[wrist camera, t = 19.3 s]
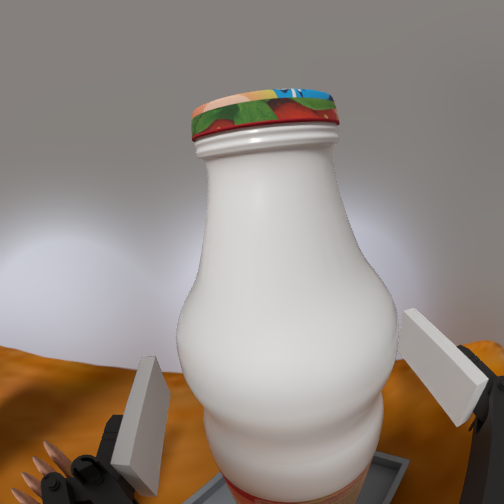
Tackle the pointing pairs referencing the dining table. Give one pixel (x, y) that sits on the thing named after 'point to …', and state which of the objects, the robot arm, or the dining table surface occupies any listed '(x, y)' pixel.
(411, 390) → the dining table surface
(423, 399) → the dining table surface
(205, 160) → the white milk bottle
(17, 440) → the dining table surface
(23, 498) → the ammunition clip
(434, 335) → the robot arm
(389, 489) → the tray
